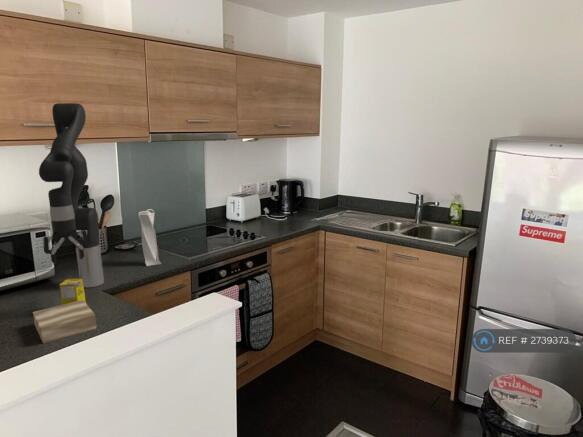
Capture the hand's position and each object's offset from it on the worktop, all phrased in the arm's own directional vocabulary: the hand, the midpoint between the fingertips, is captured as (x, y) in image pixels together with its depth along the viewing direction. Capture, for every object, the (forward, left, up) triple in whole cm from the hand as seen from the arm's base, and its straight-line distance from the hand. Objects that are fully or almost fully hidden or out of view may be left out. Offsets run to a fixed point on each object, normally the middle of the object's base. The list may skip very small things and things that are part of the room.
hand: (68, 261), depth 158 cm
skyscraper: (-33, +42, -19) cm, 57 cm away
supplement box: (0, 0, -19) cm, 19 cm away
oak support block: (+14, -6, -19) cm, 24 cm away
